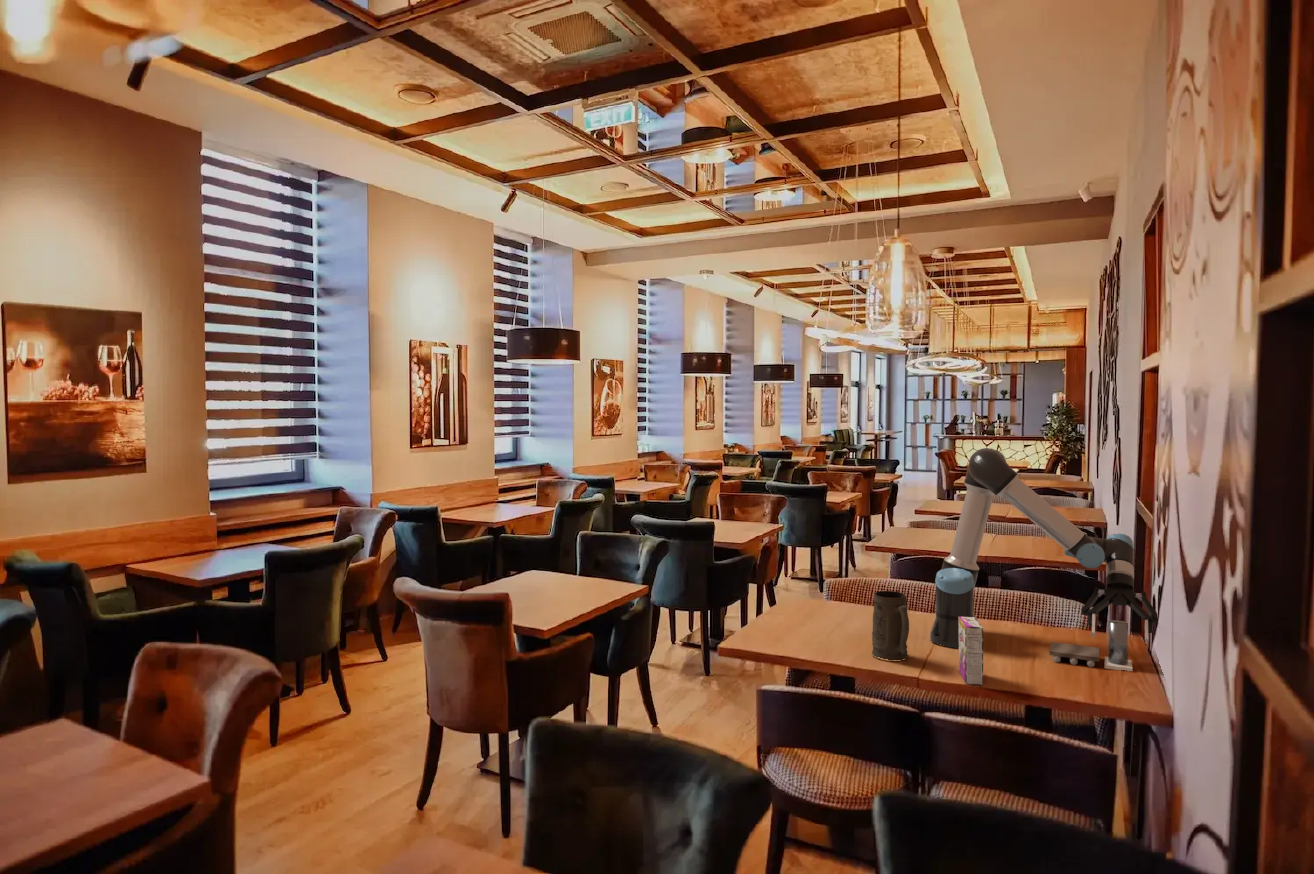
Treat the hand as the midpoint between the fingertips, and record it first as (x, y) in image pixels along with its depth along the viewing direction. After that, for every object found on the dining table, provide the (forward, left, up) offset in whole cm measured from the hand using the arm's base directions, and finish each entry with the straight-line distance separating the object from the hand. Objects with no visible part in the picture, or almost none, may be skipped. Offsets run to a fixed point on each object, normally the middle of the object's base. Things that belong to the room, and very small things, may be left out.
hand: (1119, 638), depth 229 cm
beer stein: (-60, -24, -9) cm, 65 cm away
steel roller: (0, +1, -7) cm, 7 cm away
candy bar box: (-37, -32, -9) cm, 50 cm away
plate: (0, +1, -8) cm, 9 cm away
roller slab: (-12, +1, -8) cm, 15 cm away
